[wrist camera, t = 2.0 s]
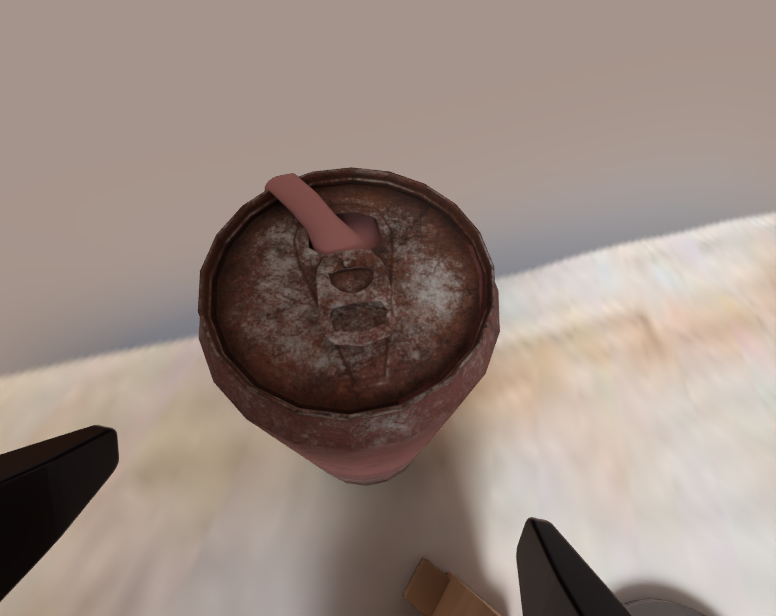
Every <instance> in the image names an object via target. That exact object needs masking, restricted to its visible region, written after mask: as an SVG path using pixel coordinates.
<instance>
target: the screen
mask: <svg viewBox="0 0 776 616" xmlns="http://www.w3.org/2000/svg"><path fill="white" fill-rule="evenodd" d="M403 594H404V597H405V599H406V600H407V601H408V602H409V603H411V604H412V605H413V606H414V607H415V608H416V609H417V610H418V611H420V612H421V613H422V614H423V615H424V616H501V615H500V614H499V613H498V612H497V611H496V610H494V609H493V608H492V607H491V606H490V605H489V604H488V603H486V602H485V601H484V600H483V599H482V598H480V597H479V596H478V595H477V594H476V593H474V592H473V591H472V590H471V589H470V588H468V587H467V586H466V585H465V584H464V583H462V582H461V581H460V580H459V579H458V578H456V577H455V576H454V575H453V574H452V573H450V572H449V571H448V573H447V575H445V574H444V573H443V572H441V571H440V570H439V569H438V568H437V567H435V566H434V565H433V564H432V563H431V562H429V561H428V560H427V559H426V558H425V557H424V556H423V558H422V560H421V561H420V563H419V565H418V567H417V569H416V570H415V572H414V574H413V576H412V578H411V580H410V581H409V583H408V585H407V587H406V589H405V590H404V592H403Z"/></svg>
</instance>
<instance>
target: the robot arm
mask: <svg viewBox="0 0 776 616" xmlns="http://www.w3.org/2000/svg"><path fill="white" fill-rule="evenodd" d="M118 462H119V451H118V438H117V432H116V431H115V429H113V428H110V427H105V426H100V425H93V426H90V427H87V428H83V429H80V430H77V431H74V432H71V433H68V434H64V435H61V436H58V437H55V438H52V439H48V440H45V441H42V442H39V443H36V444H33V445H29V446H26V447H23V448H20V449H17V450H14V451H10V452H7V453H4V454H1V455H0V602H1V601H2V600H3V599H4V597H5V596H6V595H7V594H8V593H9V592H10V591H11V590H12V589H13V588H14V587H15V586H16V585H17V584H18V583H19V582H20V580H21V579H22V578H23V577H24V576H25V575H26V574H27V573H28V572H29V571H30V570H31V569H32V568H33V567H34V566H35V565H36V563H37V562H38V561H39V560H40V559H41V558H42V557H43V556H44V555H45V554H46V553H47V552H48V551H49V550H50V548H51V547H52V546H53V545H54V544H55V543H56V542H57V541H58V540H59V538H60V537H61V536H62V535H63V534H64V532H65V531H66V530H67V529H68V528H69V526H70V525H71V524H72V523H73V521H74V520H75V519H76V518H77V517H78V515H79V514H80V513H81V512H82V510H83V509H84V508H85V507H86V505H87V504H88V503H89V502H90V500H91V499H92V498H93V497H94V495H95V494H96V493H97V492H98V491H99V489H100V488H101V487H102V486H103V484H104V483H105V482H106V481H107V479H108V478H109V477H110V476H111V474H112V473H113V472H114V470H115V469H116V467H117V465H118ZM516 559H517V568H518V577H519V586H520V594H521V603H522V612H523V616H633V615H632V614H631V613H630V612H629V611H628V610H627V609H626V607H625V606H624V605H623V604H622V603H621V602H620V601H619V599H618V598H617V597H616V596H615V595H614V594H613V593H612V592H611V590H610V589H609V588H608V587H607V586H606V585H605V584H604V582H603V581H602V580H601V579H600V578H599V577H598V576H597V574H596V573H595V572H594V571H593V570H592V569H591V568H590V566H589V565H588V564H587V563H586V562H585V561H584V560H583V559H582V557H581V556H580V555H579V554H578V553H577V552H576V551H575V549H574V548H573V547H572V546H571V545H570V544H569V543H568V541H567V540H566V539H565V538H564V537H563V536H562V535H561V533H560V532H559V531H558V530H557V529H556V528H555V527H554V526H553V524H552V523H550V522H549V521H547V520H542V519H538V518H533V517H531V518H528V519H527V521H526V523H525V525H524V528H523V531H522V534H521V537H520V540H519V543H518V546H517V553H516Z"/></svg>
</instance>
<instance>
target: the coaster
mask: <svg viewBox="0 0 776 616" xmlns="http://www.w3.org/2000/svg"><path fill="white" fill-rule="evenodd" d="M624 606H625V607H626V609H627V610H628V611H629V612H630V613H631V614H632V615H633V616H705V615H703V614H701V613H699V612H697V611H695V610H693V609H691V608H688V607H685V606H682V605H679V604H676V603H673V602H669V601H664V600H659V599H643V600H636V601H633V602H630V603H627V604H624Z"/></svg>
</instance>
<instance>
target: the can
mask: <svg viewBox="0 0 776 616" xmlns="http://www.w3.org/2000/svg"><path fill="white" fill-rule="evenodd" d="M198 313H199V316H200V327H199V341H200V344H201V346H202V349H203V352H204V355H205V358H206V361H207V364H208V367H209V370H210V373H211V375H212V378H213V381H214V383H215V384H216V385H217V386H218V387H219V388H220V390H221V391H222V392H223V393H224V394H225V395H226V396H227V397H228V399H229V400H230V401H231V402H232V403H233V404H234V405H235V407H236V408H237V409H238V410H239V411H240V412H241V413H242V415H243V416H244V417H245V418H246V419H247V420H249V421H250V422H252V423H253V424H255V425H256V426H258V427H259V428H261V429H262V430H264V431H265V432H267V433H268V434H270V435H271V436H273V437H274V438H276V439H277V440H279V441H280V442H282V443H283V444H285V445H286V446H288V447H289V448H291V449H292V450H294V451H295V452H297V453H298V454H300V455H301V456H303V457H304V458H306V459H307V460H309V461H310V462H312V463H313V464H315V465H316V466H318V467H319V468H321V469H323V470H324V471H326V472H327V473H329V474H331V475H332V476H334V477H336V478H338V479H340V480H342V481H344V482H346V483H352V484H360V485H370V484H375V483H380V482H384V481H387V480H389V479H390V478H392V477H394V476H395V475H397V474H399V473H400V472H402V471H403V470H405V468H406V467H407V466H408V465H409V464H410V463H411V461H412V460H413V459H414V458H415V457H416V456H417V454H418V453H419V452H420V451H421V450H422V449H423V447H424V446H425V445H426V444H427V443H428V442H429V440H430V439H431V438H432V437H433V436H434V435H435V433H436V432H437V431H438V430H439V429H440V428H441V427H442V425H443V424H444V423H445V422H446V421H447V420H448V418H449V417H450V416H451V415H452V414H453V413H454V411H455V410H456V409H457V408H458V407H459V405H460V404H461V403H462V402H463V400H464V399H465V398H466V397H467V396H468V394H469V393H470V392H471V391H472V389H473V388H474V387H475V386H476V385H477V383H478V382H479V381H480V380H481V378H482V377H483V376H484V375H485V373H486V371H487V368H488V365H489V362H490V359H491V356H492V353H493V350H494V347H495V344H496V341H497V338H498V335H499V332H500V325H499V298H498V289H497V286H496V284H495V279H494V265H493V263H492V260H491V258H490V255H489V253H488V250H487V248H486V246H485V243H484V241H483V239H482V236H481V233H480V232H479V230H478V229H477V228H476V227H475V226H474V225H473V223H472V222H471V221H470V220H469V219H468V218H467V217H466V215H465V214H464V213H463V212H462V211H461V210H460V208H459V207H458V206H457V205H456V204H455V203H453V202H452V201H450V200H449V199H447V198H446V197H444V196H443V195H441V194H440V193H438V192H436V191H435V190H433V189H432V188H430V187H429V186H427V185H426V184H424V183H421V182H418V181H415V180H412V179H409V178H406V177H403V176H401V175H398V174H395V173H392V172H389V171H378V170H369V169H361V168H342V169H333V170H324V171H315V172H310V173H307V174H305V175H302V176H299V177H298V176H297V175H295V174H293V173H291V174H286V175H280V176H276V177H274V178H272V179H271V180H269V181H268V183H267V184H266V186H265V192H263V193H262V194H260V195H258V196H257V197H256V198H254V199H252V200H251V201H249V202H247V203H246V204H244V205H243V206H242V207H241V208H240V209H239V210H238V211H237V212H236V214H235V215H234V216H233V217H232V218H231V219H230V220H229V221H228V222H227V223H226V225H225V226H224V227H223V228H222V229H221V230H220V231H219V232H218V233H217V235H216V237H215V239H214V241H213V243H212V246H211V248H210V250H209V252H208V255H207V257H206V259H205V261H204V264H203V266H202V268H201V270H200V284H199V301H198Z"/></svg>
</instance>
